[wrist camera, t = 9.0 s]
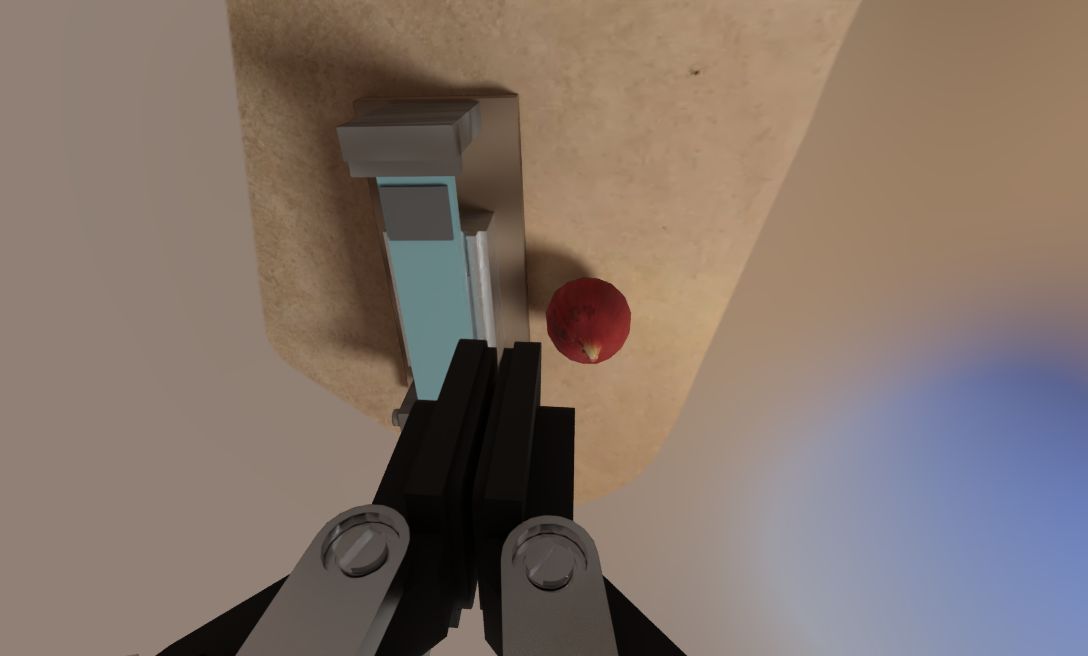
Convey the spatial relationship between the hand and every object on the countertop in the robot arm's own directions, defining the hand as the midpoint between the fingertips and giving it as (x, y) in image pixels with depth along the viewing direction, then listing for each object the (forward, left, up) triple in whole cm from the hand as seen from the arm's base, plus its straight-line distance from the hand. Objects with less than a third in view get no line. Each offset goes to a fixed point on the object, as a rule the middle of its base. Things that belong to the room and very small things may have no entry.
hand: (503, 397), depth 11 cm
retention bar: (+9, -7, -20) cm, 23 cm away
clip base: (+9, -7, -27) cm, 29 cm away
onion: (+11, +2, -27) cm, 29 cm away
